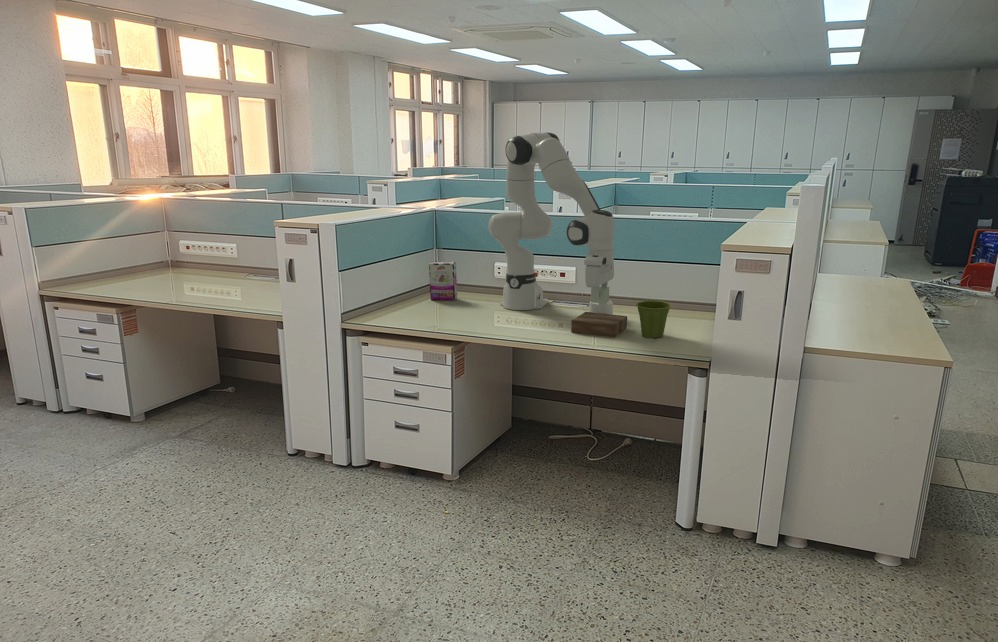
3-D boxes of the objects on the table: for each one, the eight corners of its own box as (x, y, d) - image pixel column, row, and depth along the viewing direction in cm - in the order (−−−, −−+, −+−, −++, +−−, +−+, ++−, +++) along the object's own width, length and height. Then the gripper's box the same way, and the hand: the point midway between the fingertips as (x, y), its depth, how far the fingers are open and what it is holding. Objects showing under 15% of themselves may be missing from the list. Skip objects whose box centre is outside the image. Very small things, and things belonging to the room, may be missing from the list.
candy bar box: (457, 298, 296) (456, 261, 292) (455, 300, 291) (453, 263, 287) (433, 297, 298) (431, 261, 294) (430, 300, 293) (428, 263, 289)
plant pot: (631, 331, 239) (632, 301, 236) (663, 330, 239) (665, 300, 237) (640, 341, 227) (641, 308, 224) (674, 339, 228) (676, 307, 225)
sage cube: (595, 299, 242) (595, 286, 240) (608, 300, 239) (609, 287, 238) (590, 302, 237) (591, 288, 236) (604, 303, 235) (604, 289, 234)
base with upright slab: (587, 314, 264) (588, 284, 261) (610, 314, 264) (611, 284, 261) (590, 320, 256) (591, 289, 253) (614, 319, 256) (615, 289, 253)
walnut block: (585, 324, 251) (585, 311, 250) (626, 329, 243) (627, 316, 242) (571, 333, 239) (571, 320, 238) (614, 339, 231) (614, 325, 230)
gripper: (602, 252, 245) (601, 289, 248) (582, 260, 227) (581, 300, 231) (618, 253, 242) (617, 291, 245) (599, 261, 224) (598, 302, 228)
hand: (600, 295), depth 238 cm, fingers closed on sage cube, 5 cm apart
